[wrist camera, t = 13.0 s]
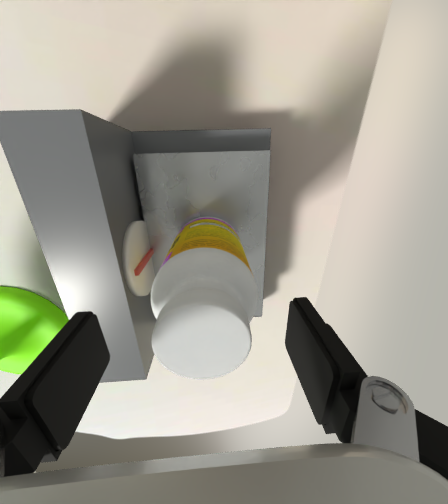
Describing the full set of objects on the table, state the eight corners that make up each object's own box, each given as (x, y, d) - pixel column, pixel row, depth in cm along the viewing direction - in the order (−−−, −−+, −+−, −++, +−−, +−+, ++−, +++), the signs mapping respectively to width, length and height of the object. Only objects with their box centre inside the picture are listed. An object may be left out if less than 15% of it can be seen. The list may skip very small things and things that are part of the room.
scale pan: (137, 154, 19) (132, 154, 18) (267, 151, 20) (270, 150, 18) (164, 314, 26) (161, 321, 25) (260, 309, 26) (262, 315, 25)
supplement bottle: (177, 210, 20) (126, 272, 8) (245, 219, 21) (290, 289, 9) (173, 272, 22) (129, 390, 10) (234, 278, 23) (257, 396, 11)
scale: (92, 137, 22) (-12, 111, 12) (263, 133, 22) (306, 105, 12) (133, 310, 30) (93, 383, 20) (257, 303, 31) (279, 370, 21)
